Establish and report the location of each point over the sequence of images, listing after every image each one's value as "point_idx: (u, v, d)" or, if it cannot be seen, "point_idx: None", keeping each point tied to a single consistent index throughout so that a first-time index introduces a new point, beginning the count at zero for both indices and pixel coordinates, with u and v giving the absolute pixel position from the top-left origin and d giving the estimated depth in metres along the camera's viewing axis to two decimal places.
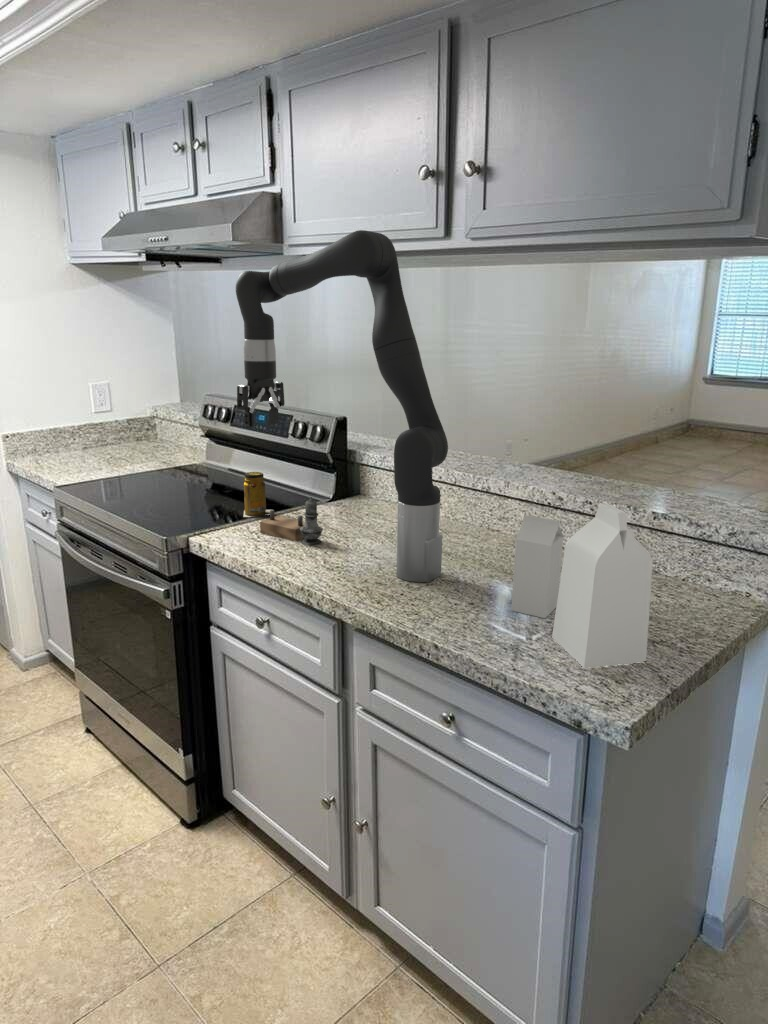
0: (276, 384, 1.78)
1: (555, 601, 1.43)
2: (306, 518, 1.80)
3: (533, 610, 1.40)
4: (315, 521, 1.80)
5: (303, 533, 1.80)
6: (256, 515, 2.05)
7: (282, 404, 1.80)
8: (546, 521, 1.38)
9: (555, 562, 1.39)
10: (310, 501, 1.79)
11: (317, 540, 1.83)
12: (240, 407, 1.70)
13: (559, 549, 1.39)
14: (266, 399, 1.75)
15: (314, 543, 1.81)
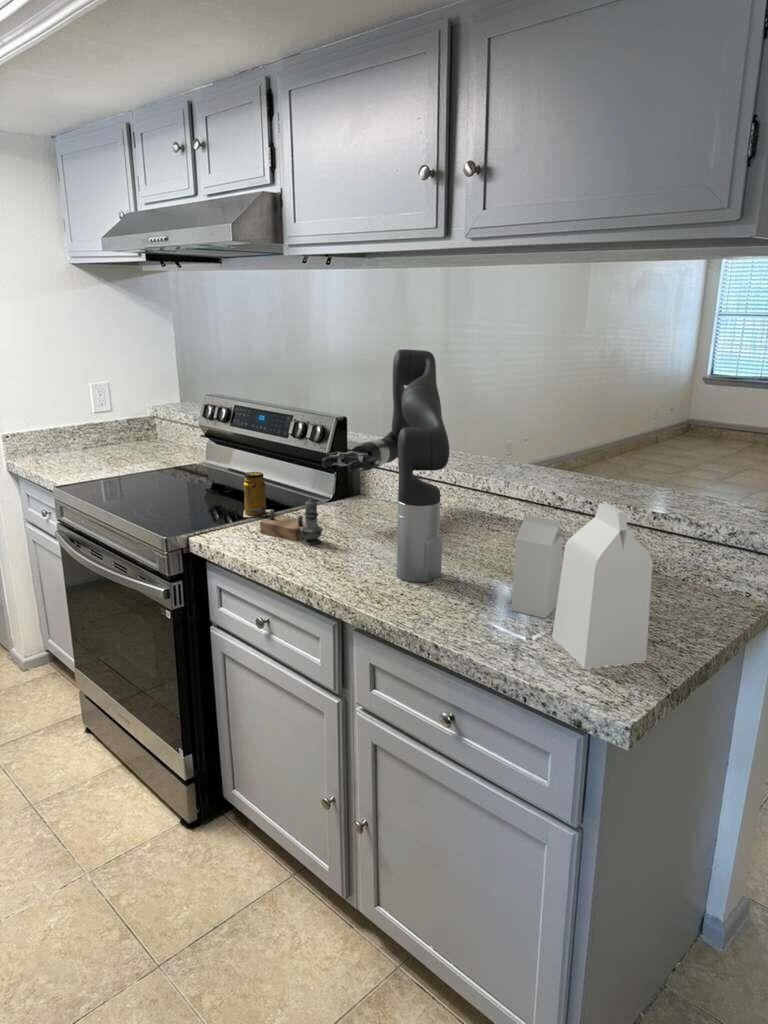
0: None
1: (555, 601, 1.43)
2: (306, 518, 1.80)
3: (533, 610, 1.40)
4: (315, 521, 1.80)
5: (303, 533, 1.80)
6: (256, 515, 2.05)
7: (366, 460, 1.87)
8: (546, 521, 1.38)
9: (555, 562, 1.39)
10: (310, 501, 1.79)
11: (317, 540, 1.83)
12: None
13: (559, 549, 1.39)
14: (352, 457, 1.92)
15: (314, 543, 1.81)
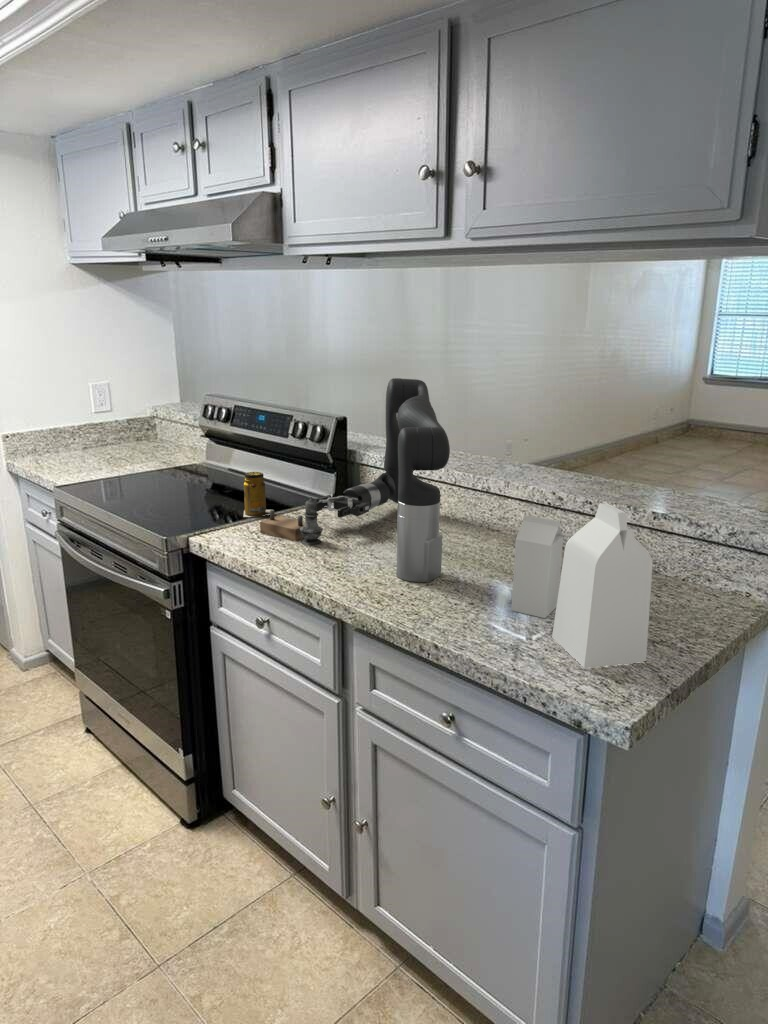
0: None
1: (555, 601, 1.43)
2: (306, 518, 1.80)
3: (533, 610, 1.40)
4: (315, 521, 1.80)
5: (303, 533, 1.80)
6: (256, 515, 2.05)
7: (356, 506, 1.86)
8: (546, 521, 1.38)
9: (555, 562, 1.39)
10: (310, 501, 1.79)
11: (317, 540, 1.83)
12: None
13: (559, 549, 1.39)
14: (342, 502, 1.90)
15: (314, 543, 1.81)
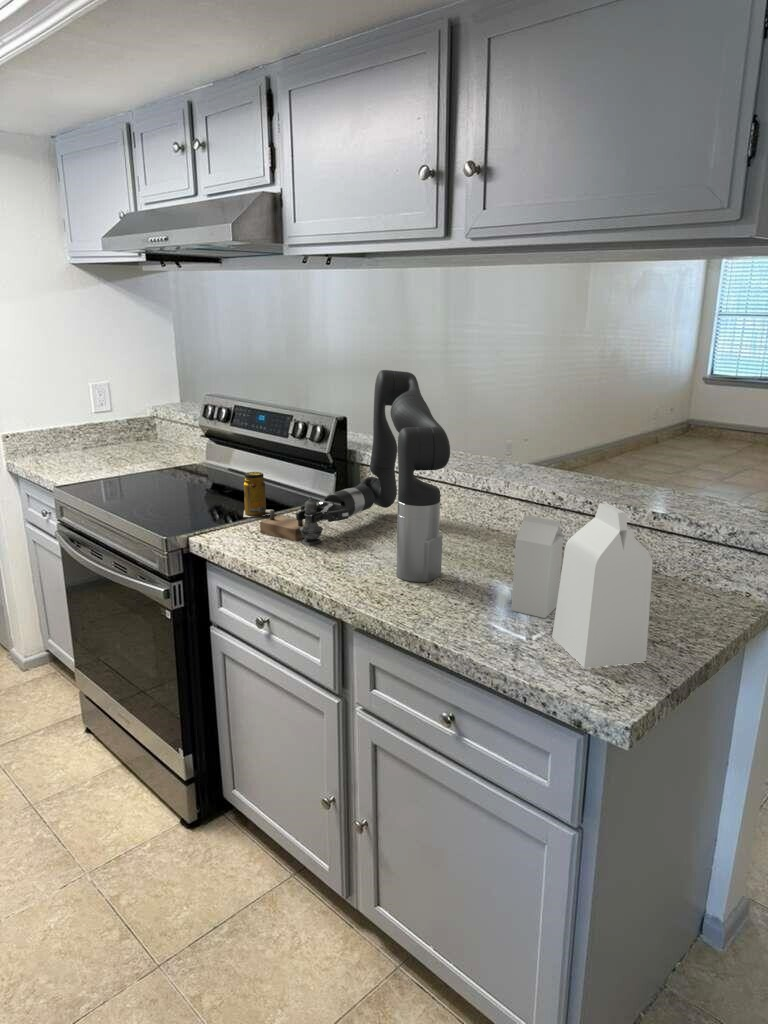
0: None
1: (555, 601, 1.43)
2: (306, 518, 1.80)
3: (533, 610, 1.40)
4: None
5: (303, 533, 1.80)
6: (256, 515, 2.05)
7: (329, 511, 1.80)
8: (546, 521, 1.38)
9: (555, 562, 1.39)
10: (310, 501, 1.79)
11: (317, 540, 1.83)
12: None
13: (559, 549, 1.39)
14: (322, 507, 1.85)
15: (314, 543, 1.81)
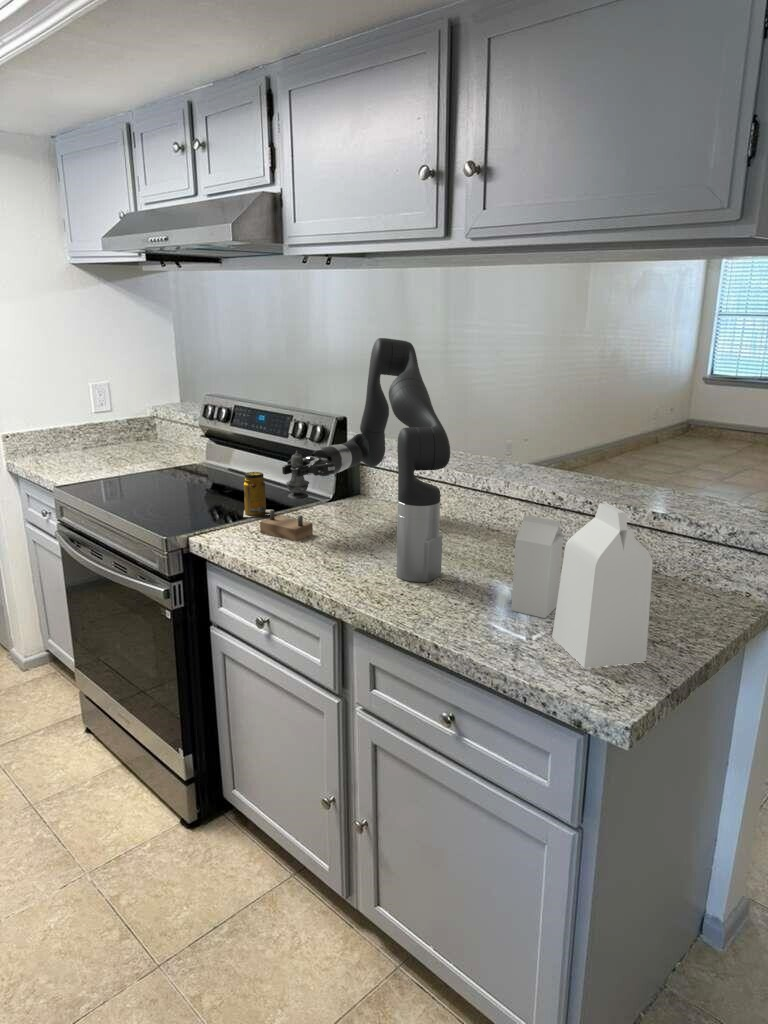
0: None
1: (555, 601, 1.43)
2: (292, 472, 1.82)
3: (533, 610, 1.40)
4: None
5: (289, 487, 1.82)
6: (256, 515, 2.05)
7: (315, 465, 1.81)
8: (546, 521, 1.38)
9: (555, 562, 1.39)
10: (296, 455, 1.80)
11: (303, 494, 1.84)
12: None
13: (559, 549, 1.39)
14: (309, 461, 1.86)
15: (300, 497, 1.82)
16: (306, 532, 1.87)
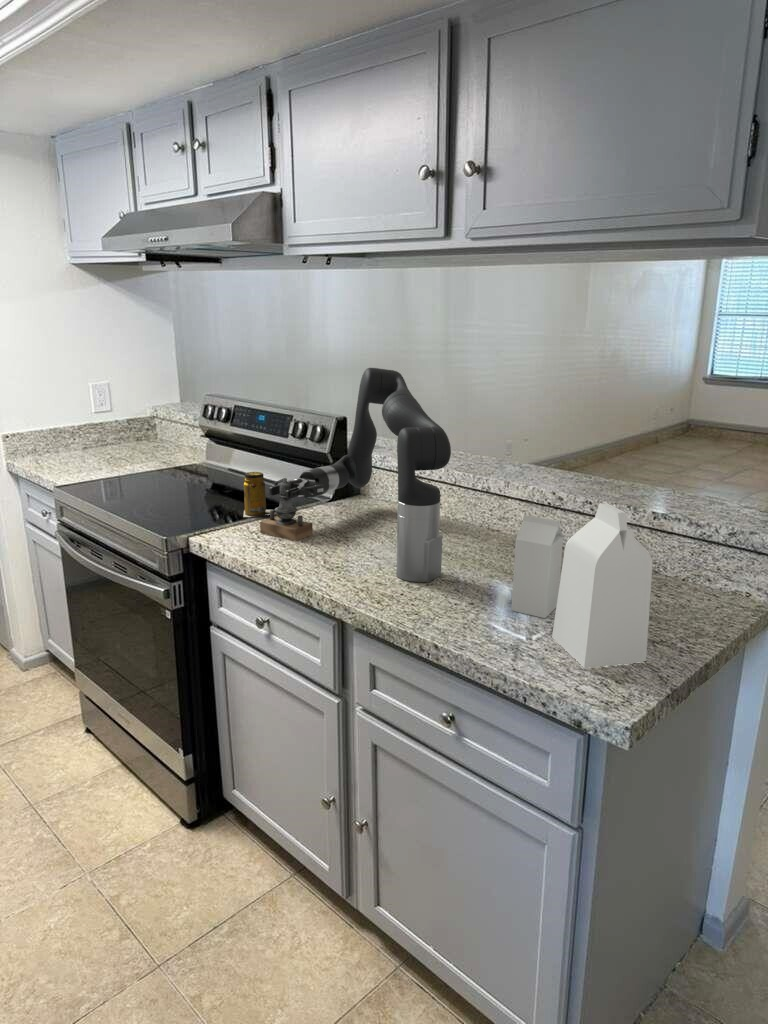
0: None
1: (555, 601, 1.43)
2: (280, 499, 1.86)
3: (533, 610, 1.40)
4: (289, 501, 1.86)
5: (278, 513, 1.86)
6: (256, 515, 2.05)
7: (305, 487, 1.85)
8: (546, 521, 1.38)
9: (555, 562, 1.39)
10: (284, 482, 1.85)
11: (291, 520, 1.89)
12: None
13: (559, 549, 1.39)
14: (297, 483, 1.90)
15: (288, 523, 1.87)
16: (306, 532, 1.87)
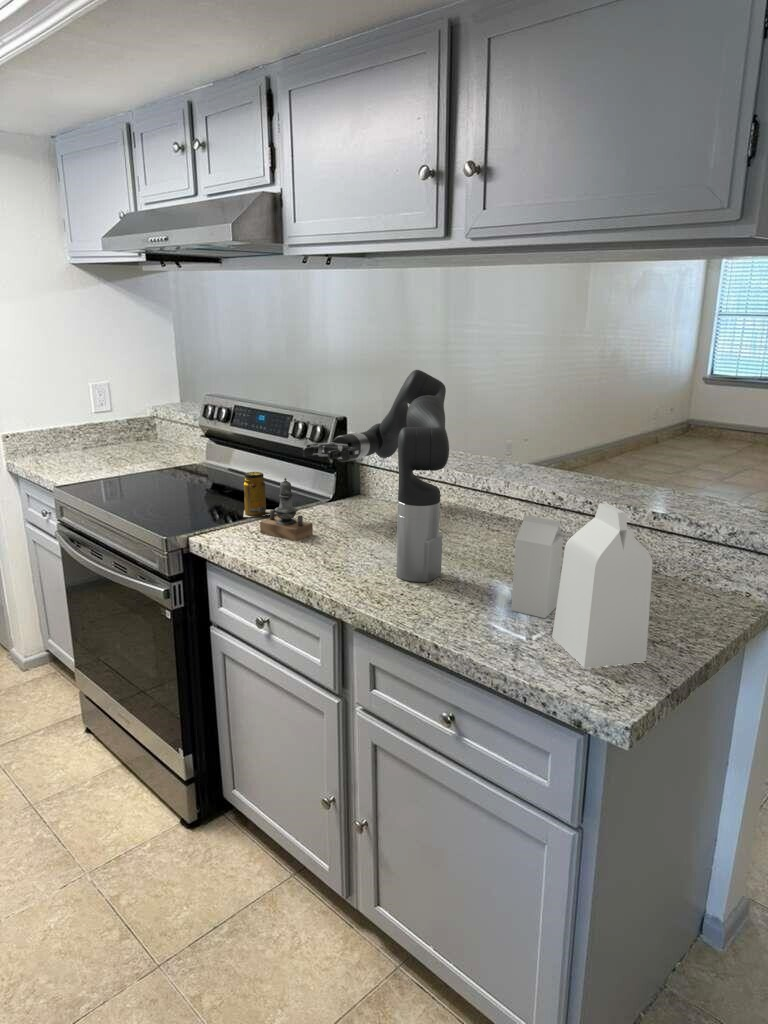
0: None
1: (555, 601, 1.43)
2: (281, 499, 1.86)
3: (533, 610, 1.40)
4: (289, 502, 1.87)
5: (278, 513, 1.86)
6: (256, 515, 2.05)
7: (346, 449, 1.92)
8: (546, 521, 1.38)
9: (555, 562, 1.39)
10: (284, 482, 1.85)
11: (291, 520, 1.89)
12: None
13: (559, 549, 1.39)
14: (332, 447, 1.97)
15: (288, 523, 1.87)
16: (306, 532, 1.87)
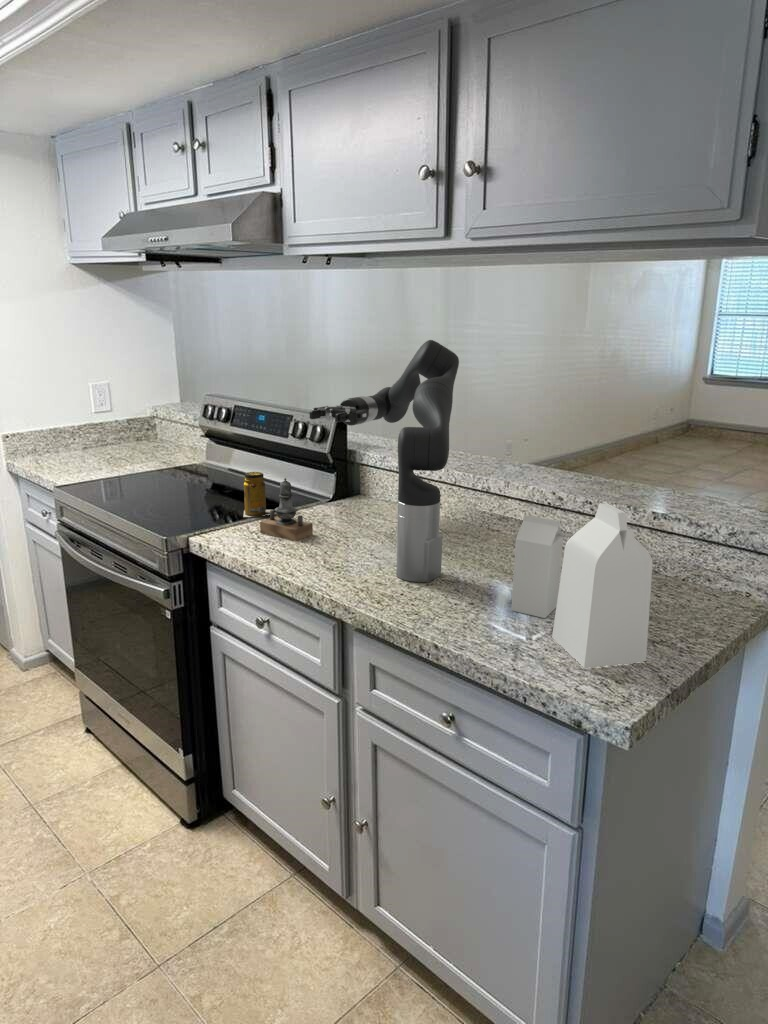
0: None
1: (555, 601, 1.43)
2: (281, 499, 1.86)
3: (533, 610, 1.40)
4: (289, 501, 1.87)
5: (278, 513, 1.86)
6: (256, 515, 2.05)
7: (353, 412, 1.89)
8: (546, 521, 1.38)
9: (555, 562, 1.39)
10: (284, 482, 1.85)
11: (291, 520, 1.89)
12: None
13: (559, 549, 1.39)
14: (340, 410, 1.93)
15: (288, 523, 1.87)
16: (306, 532, 1.87)
